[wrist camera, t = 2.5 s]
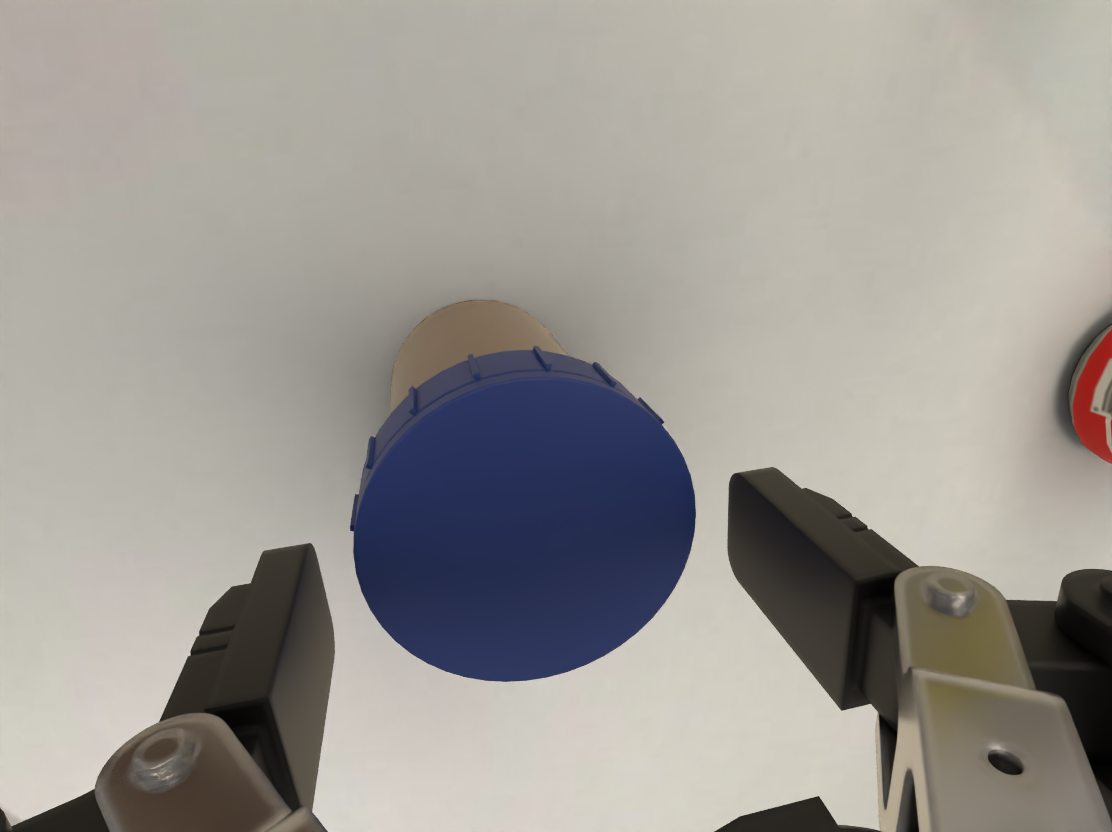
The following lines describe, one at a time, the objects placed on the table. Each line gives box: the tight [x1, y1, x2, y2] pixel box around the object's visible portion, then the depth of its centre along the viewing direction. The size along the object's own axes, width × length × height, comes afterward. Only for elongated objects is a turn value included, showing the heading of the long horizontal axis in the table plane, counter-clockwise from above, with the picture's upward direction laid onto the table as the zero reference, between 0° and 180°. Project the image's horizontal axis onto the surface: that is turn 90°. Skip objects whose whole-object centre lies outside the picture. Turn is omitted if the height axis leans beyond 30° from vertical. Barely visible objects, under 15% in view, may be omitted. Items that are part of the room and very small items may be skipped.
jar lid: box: [350, 346, 696, 682], centre depth 13 cm, size 6×6×2 cm
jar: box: [390, 300, 569, 414], centre depth 16 cm, size 5×5×8 cm
